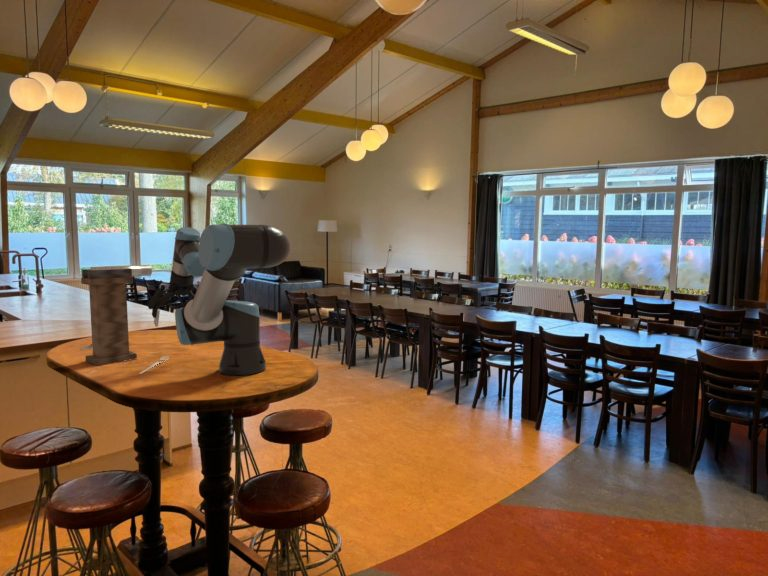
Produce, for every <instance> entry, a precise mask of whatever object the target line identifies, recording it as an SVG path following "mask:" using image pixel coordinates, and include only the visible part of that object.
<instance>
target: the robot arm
mask: <svg viewBox="0 0 768 576" xmlns="http://www.w3.org/2000/svg"><path fill="white" fill-rule="evenodd" d="M174 240H175V241H174V247H173V255H172V257H173V258H172V261H171V262H172V264H171V270H170V276H169V277H170V278H169V282H168V283H164V282H163V281H162V282H161V281H160V283H159V285H158V288H157V289H156V291H155V292H154V294H153V295H152V296H151V298H150V299H149V300H148V302H147V304H146V305H147V307H148V309H149V310H152V311H151V315H152V317H153V319H154V320H153V324H154V326H155V327H156V328H157V327H158V326H159V320H160V313H161V312H160V311H161V310H160V308H161V307H162V306H163V305H164V304H166V303H167V302H168V301H169V300H170V299H172V298H174V297H175V296H176V297H180V296H181V297H185V296H187V295H188V296H189V298H190V300H189V301H188V302H187V303H186V305H185V306H184V307H180V308H176V309H175V313H174V319H175V329H176V334H177V338H178V341H179V344H181V345H183V346H188V345H189V346H190V345H191V346H193V345H201V344H209V343H217V342H223V351H222V355H221V357H220V360H219V365H218V369H219V371H218V372H219V373H220V374H223V375H227V376H247V375H254V374H258V373H261V372H263V371H265V370H266V369H267V365H266V364H267V363H266V359H265V357H264V353H263V351H262V348H261V332H260V331H261V328H260V325H261V324H260V318H261V316H260V308H259V306H258V304H257V303H255V302H252V301H251V302H250V301H243V300H231V299H230V300H229V299H228V297H229V294H230V292H231V290H232V288H233V286H234V283H235V281H237V280H239V279H241V278H242V277H243V276H244V275H245V273H246V272H247V270H250V269H251V270H252V269H264V268H265V269H268V268H273V267H276V266H279V265H281V264H282V263H283V262H285V261H286V260H287V259H288V257H289V255H290V251H291V245H290V241H289V238H288V237H287V235H286V234H285V232H283V231H281V230H280V229H279V228H277V227H275V226H271V225H268V224H228V223H219V224H210V225H207V226H206V227H205V228H204V229H203V231H202V233H201V232H200V231H199V230H198V229H196V228H193V227H188V226H185V227H184V226H183V227H179V228H178V229H176V234H175V237H174ZM195 277H196V278H197V277H198V278H199V277H201V278H200V281H199V280H198V281H196V282H195V283H194V280H195ZM194 288H195V289H196V292H195V294H194V293H193V292H192V290H194ZM167 289H168V290H167ZM166 290H167V291H166ZM165 291H166V292H165ZM164 292H165V293H164ZM227 299H228V300H227Z"/></svg>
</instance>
